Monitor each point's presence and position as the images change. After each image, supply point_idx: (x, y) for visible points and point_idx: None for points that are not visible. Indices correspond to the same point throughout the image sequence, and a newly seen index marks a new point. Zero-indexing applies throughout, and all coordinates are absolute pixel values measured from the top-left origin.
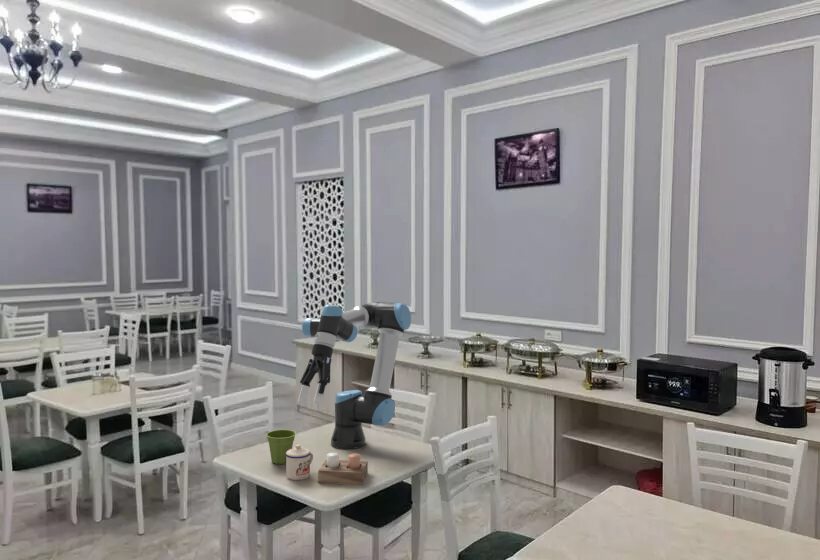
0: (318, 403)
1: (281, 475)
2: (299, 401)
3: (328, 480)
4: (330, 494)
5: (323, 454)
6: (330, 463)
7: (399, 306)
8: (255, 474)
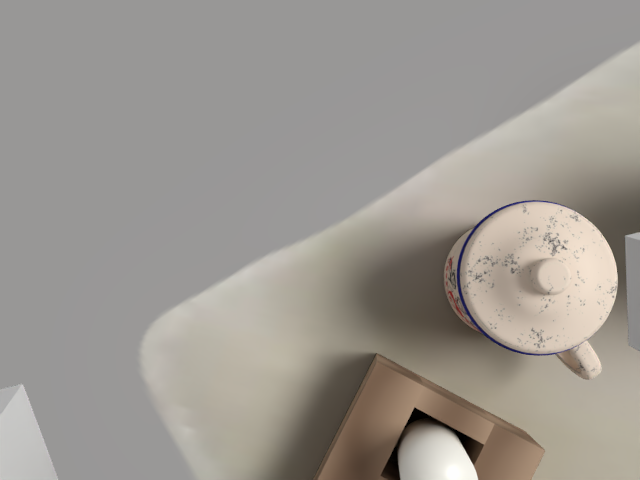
0: (45, 471)
1: None
2: (637, 254)
3: (353, 401)
4: (226, 374)
5: None
6: (406, 444)
7: None
8: (591, 82)
